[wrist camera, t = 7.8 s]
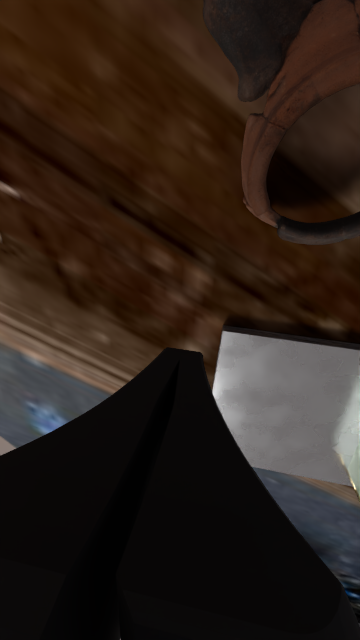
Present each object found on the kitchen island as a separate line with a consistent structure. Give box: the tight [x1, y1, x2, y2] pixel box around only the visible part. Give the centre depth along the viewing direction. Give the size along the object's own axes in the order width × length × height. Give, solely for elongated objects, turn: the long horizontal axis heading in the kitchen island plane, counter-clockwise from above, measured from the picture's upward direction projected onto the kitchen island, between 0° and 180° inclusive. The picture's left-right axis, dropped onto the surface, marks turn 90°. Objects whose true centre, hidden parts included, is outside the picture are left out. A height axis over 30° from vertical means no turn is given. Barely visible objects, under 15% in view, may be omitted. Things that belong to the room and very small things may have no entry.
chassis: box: [212, 325, 360, 502], centre depth 20 cm, size 19×14×4 cm
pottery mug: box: [203, 0, 360, 245], centre depth 12 cm, size 12×10×8 cm
